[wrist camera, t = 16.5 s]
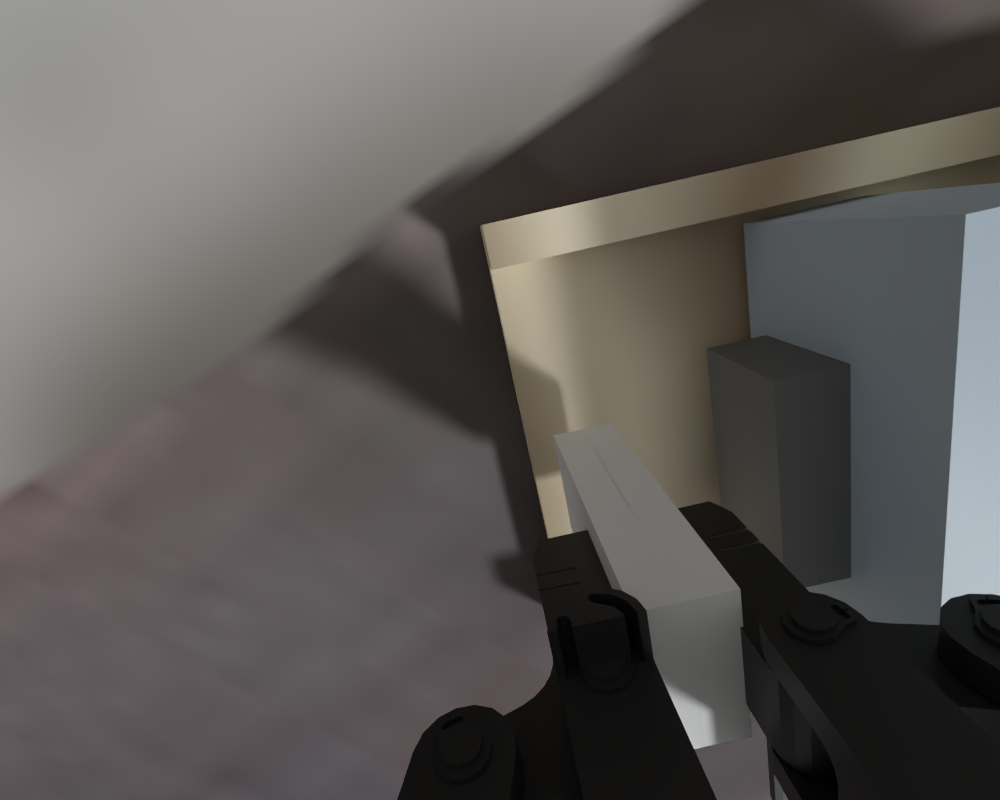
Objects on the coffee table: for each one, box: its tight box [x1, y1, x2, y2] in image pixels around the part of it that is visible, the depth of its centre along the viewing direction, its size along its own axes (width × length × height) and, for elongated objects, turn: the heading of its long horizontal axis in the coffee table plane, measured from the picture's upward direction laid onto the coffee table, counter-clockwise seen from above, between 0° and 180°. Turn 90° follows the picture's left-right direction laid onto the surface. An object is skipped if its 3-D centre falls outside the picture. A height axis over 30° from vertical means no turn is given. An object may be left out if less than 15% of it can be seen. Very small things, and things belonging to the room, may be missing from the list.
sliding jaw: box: [706, 183, 1000, 625], centre depth 11 cm, size 5×10×6 cm, turn 12°
